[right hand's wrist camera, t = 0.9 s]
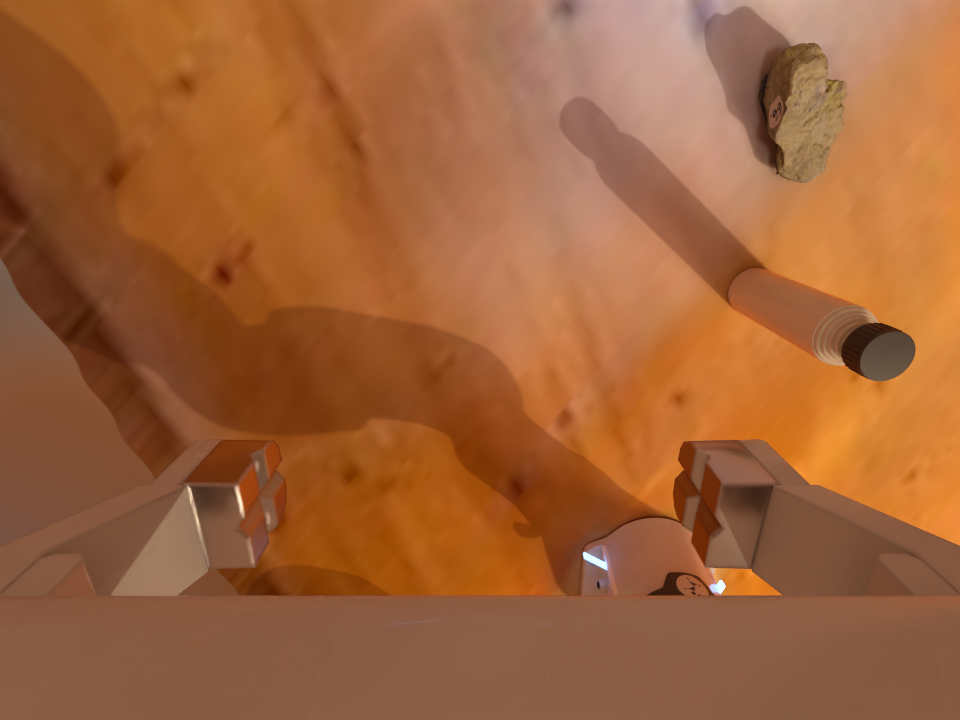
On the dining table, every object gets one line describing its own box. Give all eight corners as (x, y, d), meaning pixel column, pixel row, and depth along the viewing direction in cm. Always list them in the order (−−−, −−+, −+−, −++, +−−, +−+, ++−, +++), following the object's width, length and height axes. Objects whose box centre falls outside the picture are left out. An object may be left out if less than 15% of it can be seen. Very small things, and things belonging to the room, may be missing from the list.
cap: (858, 380, 42) (877, 392, 40) (829, 348, 41) (848, 358, 39) (904, 345, 41) (926, 355, 39) (875, 311, 40) (897, 319, 38)
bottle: (746, 322, 59) (871, 399, 40) (718, 292, 58) (833, 356, 39) (785, 289, 58) (933, 353, 39) (757, 257, 57) (896, 307, 38)
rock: (794, 186, 55) (868, 92, 50) (823, 198, 49) (910, 94, 44) (711, 137, 53) (780, 35, 48) (732, 144, 48) (812, 30, 43)
